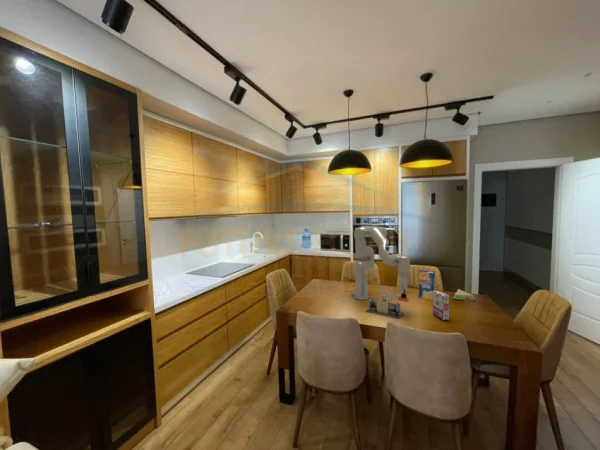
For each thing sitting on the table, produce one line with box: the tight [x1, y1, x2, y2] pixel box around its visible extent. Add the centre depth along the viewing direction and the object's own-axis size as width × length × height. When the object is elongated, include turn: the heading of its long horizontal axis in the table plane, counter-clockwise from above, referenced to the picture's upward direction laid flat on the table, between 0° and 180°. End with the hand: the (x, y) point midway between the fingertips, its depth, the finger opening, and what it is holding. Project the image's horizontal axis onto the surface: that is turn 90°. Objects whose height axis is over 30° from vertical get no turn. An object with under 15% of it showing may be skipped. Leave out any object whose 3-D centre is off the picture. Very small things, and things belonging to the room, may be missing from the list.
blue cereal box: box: [418, 269, 436, 301], centre depth 212 cm, size 7×11×22 cm, turn 56°
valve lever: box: [381, 293, 410, 303], centre depth 180 cm, size 18×3×2 cm, turn 55°
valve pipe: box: [365, 297, 404, 319], centre depth 184 cm, size 23×11×11 cm, turn 54°
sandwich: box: [452, 288, 476, 302], centre depth 211 cm, size 15×20×5 cm
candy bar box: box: [432, 290, 451, 321], centre depth 175 cm, size 11×5×16 cm, turn 5°
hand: (403, 299), depth 180 cm, fingers closed
